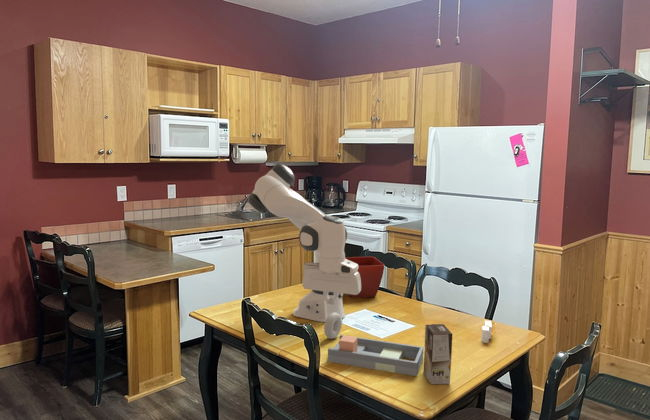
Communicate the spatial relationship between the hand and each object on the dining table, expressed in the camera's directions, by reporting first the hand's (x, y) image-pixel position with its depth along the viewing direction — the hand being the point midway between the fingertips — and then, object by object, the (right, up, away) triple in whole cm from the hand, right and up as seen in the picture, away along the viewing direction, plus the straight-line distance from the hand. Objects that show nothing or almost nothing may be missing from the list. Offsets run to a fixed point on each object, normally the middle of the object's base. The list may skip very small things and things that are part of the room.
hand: (331, 304), depth 170 cm
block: (+6, -17, 0) cm, 18 cm away
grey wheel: (+1, -17, +19) cm, 26 cm away
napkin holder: (+60, -18, +23) cm, 67 cm away
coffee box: (+33, -21, -12) cm, 41 cm away
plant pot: (+15, -10, +77) cm, 80 cm away
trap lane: (+15, -19, 0) cm, 25 cm away
